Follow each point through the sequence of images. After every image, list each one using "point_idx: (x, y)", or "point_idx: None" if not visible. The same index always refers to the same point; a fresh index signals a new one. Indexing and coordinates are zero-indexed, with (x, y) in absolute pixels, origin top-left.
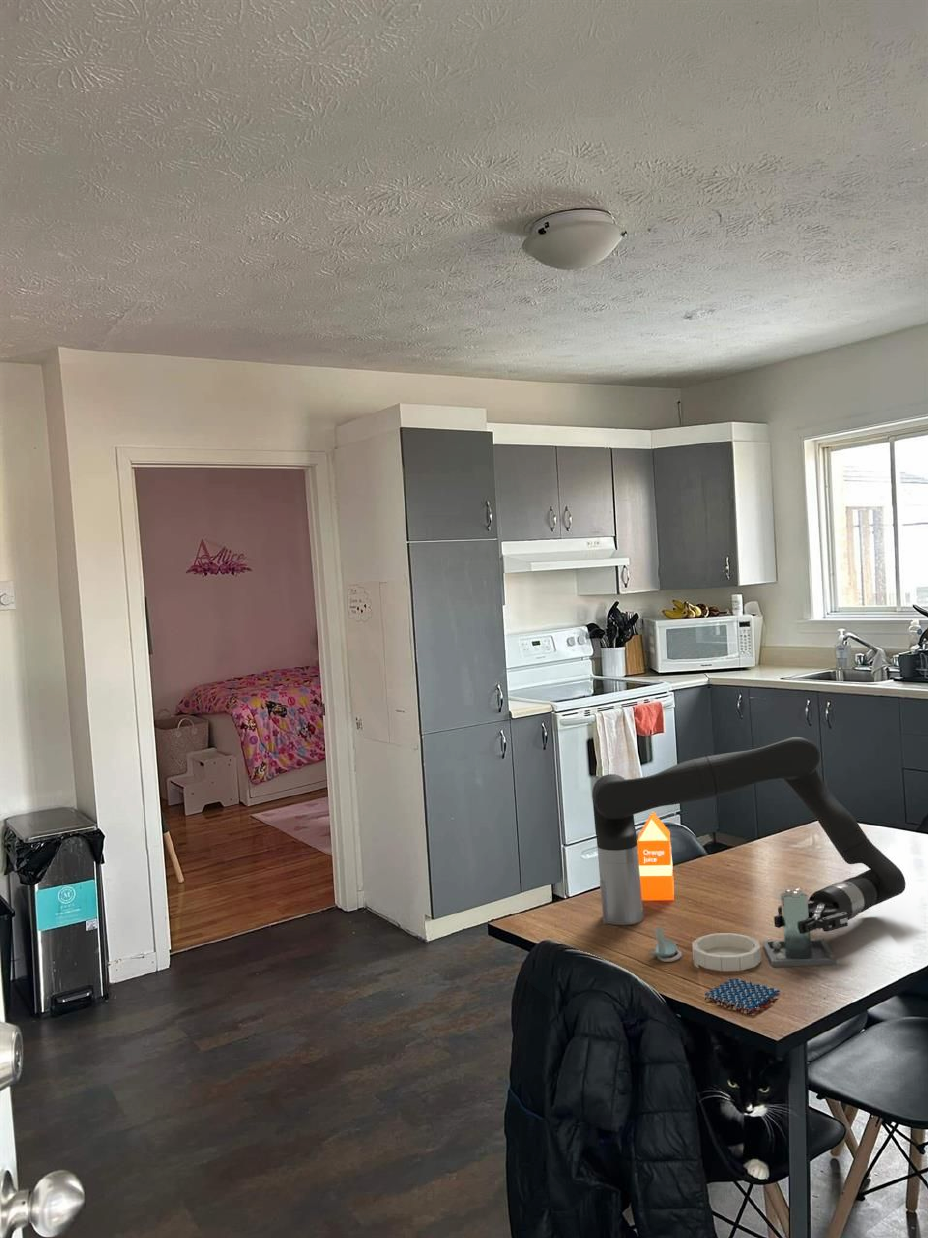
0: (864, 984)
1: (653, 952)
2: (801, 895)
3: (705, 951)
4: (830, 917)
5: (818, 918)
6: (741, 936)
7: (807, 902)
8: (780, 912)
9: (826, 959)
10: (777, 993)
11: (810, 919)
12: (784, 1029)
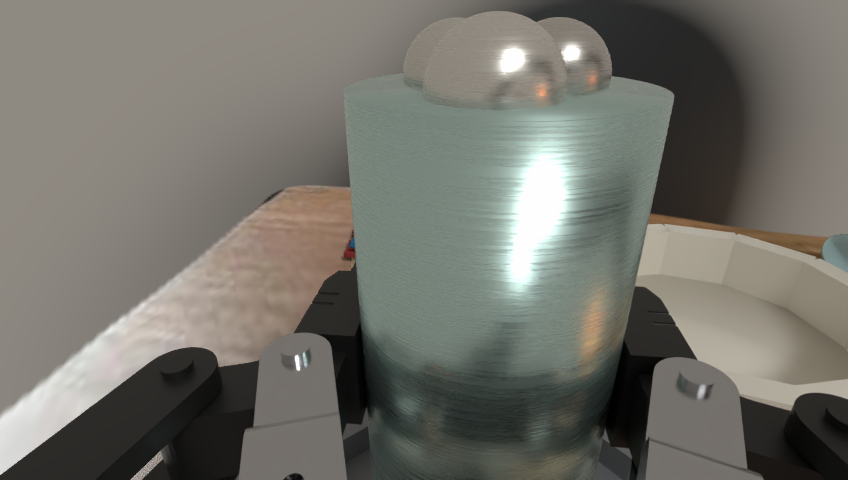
0: (35, 446)
1: (840, 235)
2: (419, 90)
3: (824, 340)
4: (106, 416)
5: (261, 362)
6: (809, 384)
7: (350, 173)
8: (778, 415)
9: (238, 478)
10: (351, 239)
11: (330, 312)
12: (288, 200)
